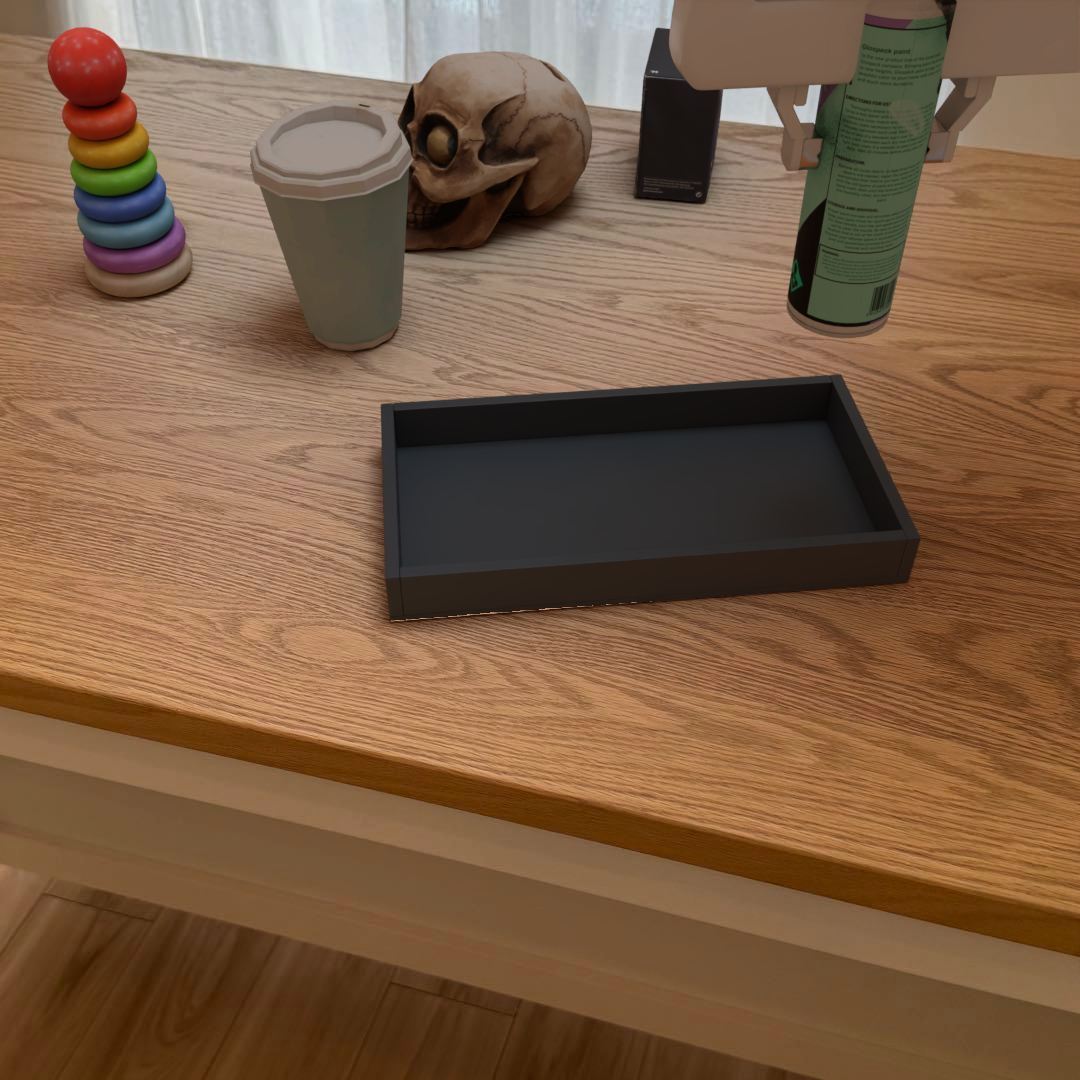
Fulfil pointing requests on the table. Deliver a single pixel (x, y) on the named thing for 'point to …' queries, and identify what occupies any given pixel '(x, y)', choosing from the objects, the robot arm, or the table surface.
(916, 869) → the table surface
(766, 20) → the robot arm
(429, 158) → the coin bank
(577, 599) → the tray
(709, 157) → the small box
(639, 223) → the table surface
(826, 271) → the spray can
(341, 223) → the disposable coffee cup
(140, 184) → the stacking toy
